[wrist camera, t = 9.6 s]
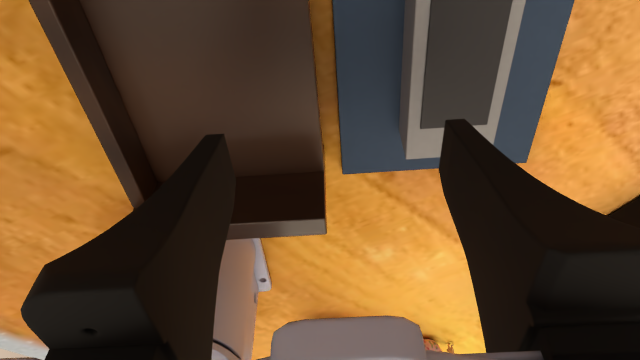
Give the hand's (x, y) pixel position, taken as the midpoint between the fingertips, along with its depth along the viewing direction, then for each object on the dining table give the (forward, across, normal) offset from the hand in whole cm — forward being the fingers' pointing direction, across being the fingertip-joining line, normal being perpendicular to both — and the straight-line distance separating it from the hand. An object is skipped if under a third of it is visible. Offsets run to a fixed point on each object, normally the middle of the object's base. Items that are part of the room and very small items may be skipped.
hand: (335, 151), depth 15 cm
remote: (+9, -6, -1) cm, 11 cm away
